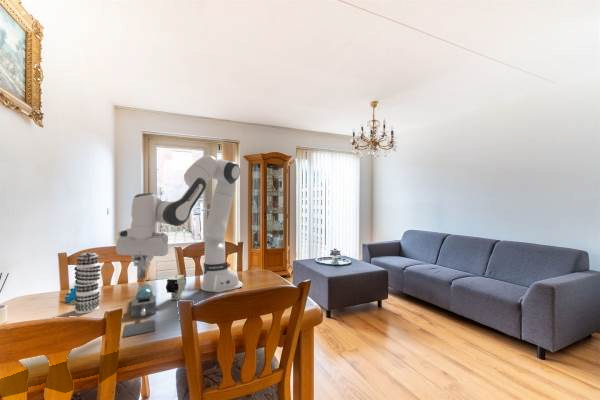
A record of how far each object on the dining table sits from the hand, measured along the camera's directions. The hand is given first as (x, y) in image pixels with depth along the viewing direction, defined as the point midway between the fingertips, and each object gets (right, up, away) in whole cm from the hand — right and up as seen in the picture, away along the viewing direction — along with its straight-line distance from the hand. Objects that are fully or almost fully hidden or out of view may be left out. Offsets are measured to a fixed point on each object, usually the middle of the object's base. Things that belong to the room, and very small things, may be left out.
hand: (141, 266), depth 112 cm
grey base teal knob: (-5, -22, +11) cm, 25 cm away
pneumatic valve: (+4, -22, +23) cm, 32 cm away
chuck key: (0, -5, 0) cm, 5 cm away
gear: (-43, -22, +19) cm, 52 cm away
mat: (+4, -22, -8) cm, 24 cm away
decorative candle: (-29, -22, +9) cm, 38 cm away
